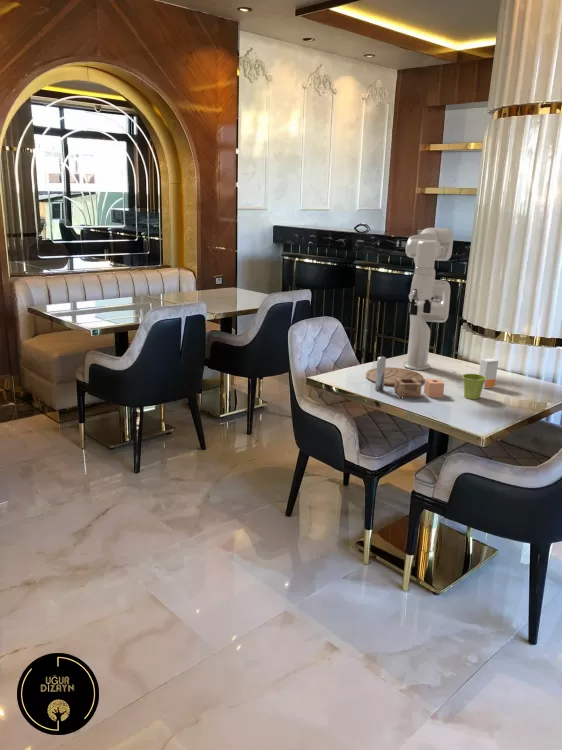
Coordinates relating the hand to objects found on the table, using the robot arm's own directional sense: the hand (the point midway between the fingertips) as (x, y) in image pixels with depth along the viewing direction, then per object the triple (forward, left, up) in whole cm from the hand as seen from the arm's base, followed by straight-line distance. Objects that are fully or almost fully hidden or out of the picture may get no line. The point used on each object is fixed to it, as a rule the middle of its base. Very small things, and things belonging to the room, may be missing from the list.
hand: (420, 313), depth 254 cm
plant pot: (+16, +20, -31) cm, 40 cm away
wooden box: (+13, -6, -31) cm, 34 cm away
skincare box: (+2, +32, -31) cm, 44 cm away
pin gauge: (+7, -16, -31) cm, 36 cm away
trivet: (-10, -5, -32) cm, 34 cm away
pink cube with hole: (+13, +5, -31) cm, 34 cm away
